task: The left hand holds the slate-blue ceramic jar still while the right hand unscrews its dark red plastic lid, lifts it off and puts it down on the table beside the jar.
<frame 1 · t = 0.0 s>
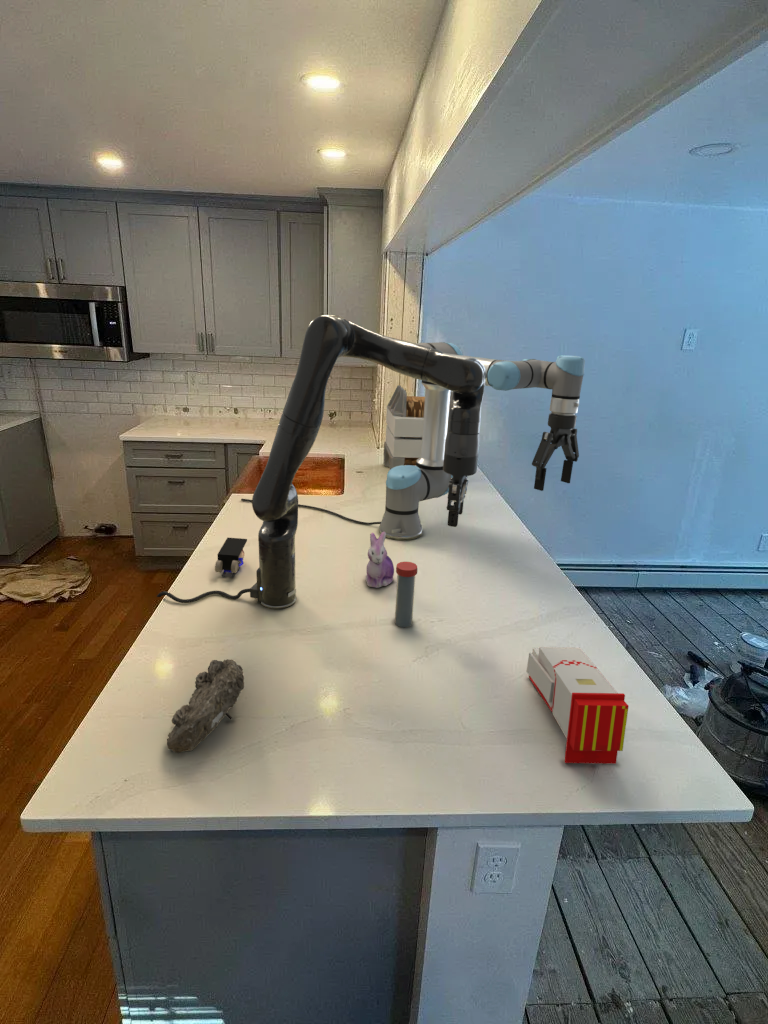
left hand: (455, 519, 131), 29 cm above the counter, tool pointing down, fingers open, 8 cm apart
right hand: (552, 485, 166), 28 cm above the counter, tool pointing down, fingers open, 13 cm apart
figurine character: (232, 569, 168), on the counter
jar: (403, 622, 144), on the counter
figurine: (379, 581, 164), on the counter
feather: (279, 514, 213), on the counter
lid: (406, 567, 138), point 16 cm above the counter, screwed on, not yet turned
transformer: (419, 473, 275), on the counter
fossil: (212, 717, 108), on the counter
toy: (564, 713, 114), on the counter
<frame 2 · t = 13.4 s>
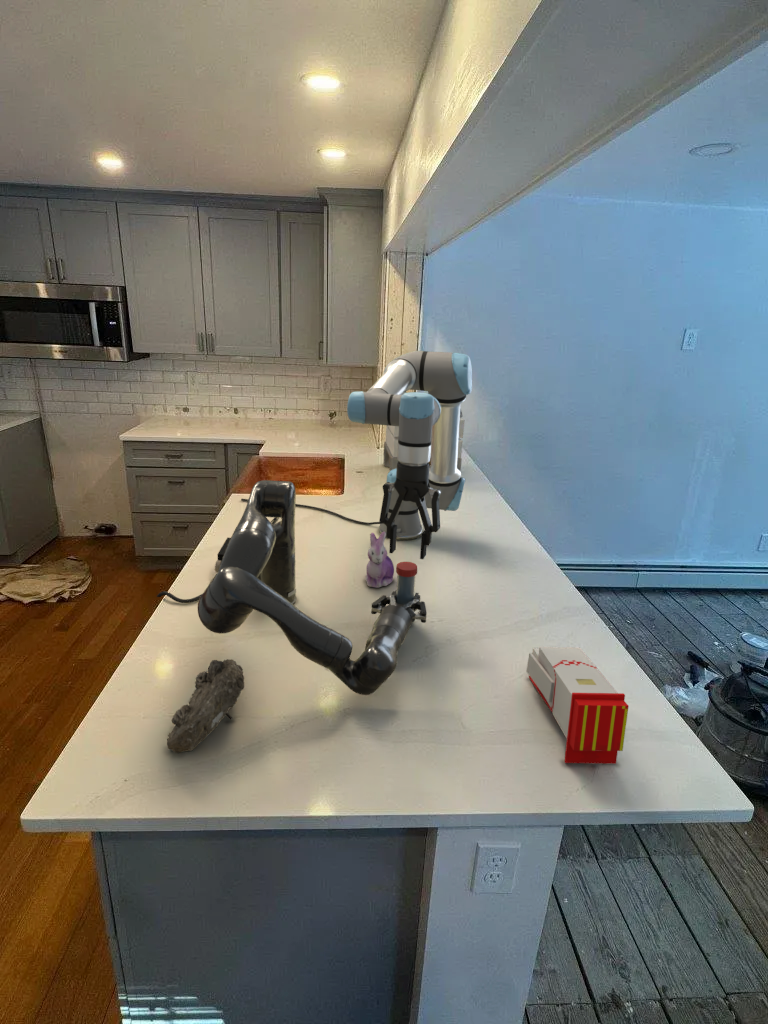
left hand: (407, 594, 144), 7 cm above the counter, tool horizontal, fingers closed on jar, 4 cm apart
right hand: (407, 553, 137), 19 cm above the counter, tool pointing down, fingers open, 7 cm apart
jar: (403, 622, 144), on the counter, touching left hand
everything else where it was.
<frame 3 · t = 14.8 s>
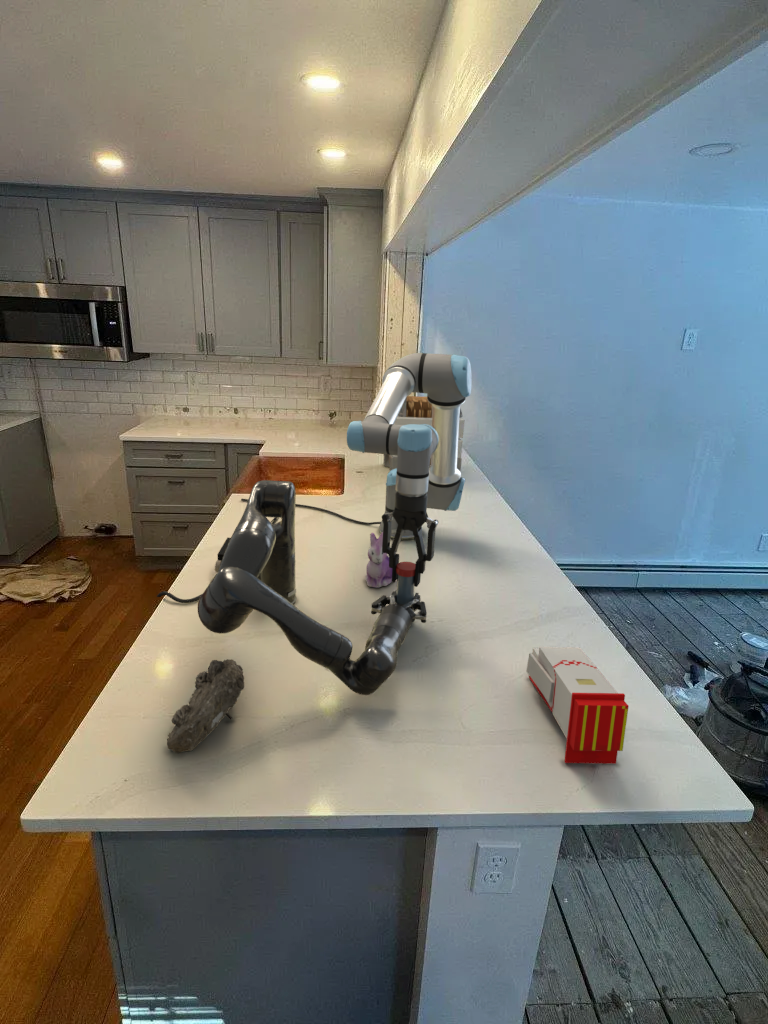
left hand: (407, 594, 144), 7 cm above the counter, tool horizontal, fingers closed on jar, 4 cm apart
right hand: (405, 581, 140), 12 cm above the counter, tool pointing down, fingers closed on lid, 5 cm apart
jar: (403, 622, 144), on the counter, touching left hand
lid: (406, 567, 138), point 16 cm above the counter, screwed on, not yet turned, touching right hand
everything else where it was.
when the right hand's fingers open (0 cm above the counter, at t = 21.1 s): lid drops 3 cm, point 1 cm above the counter.
when the left hand's fingers open (7 cm above the counter, at t = 22.2 s): jar stays where it is, on the counter.
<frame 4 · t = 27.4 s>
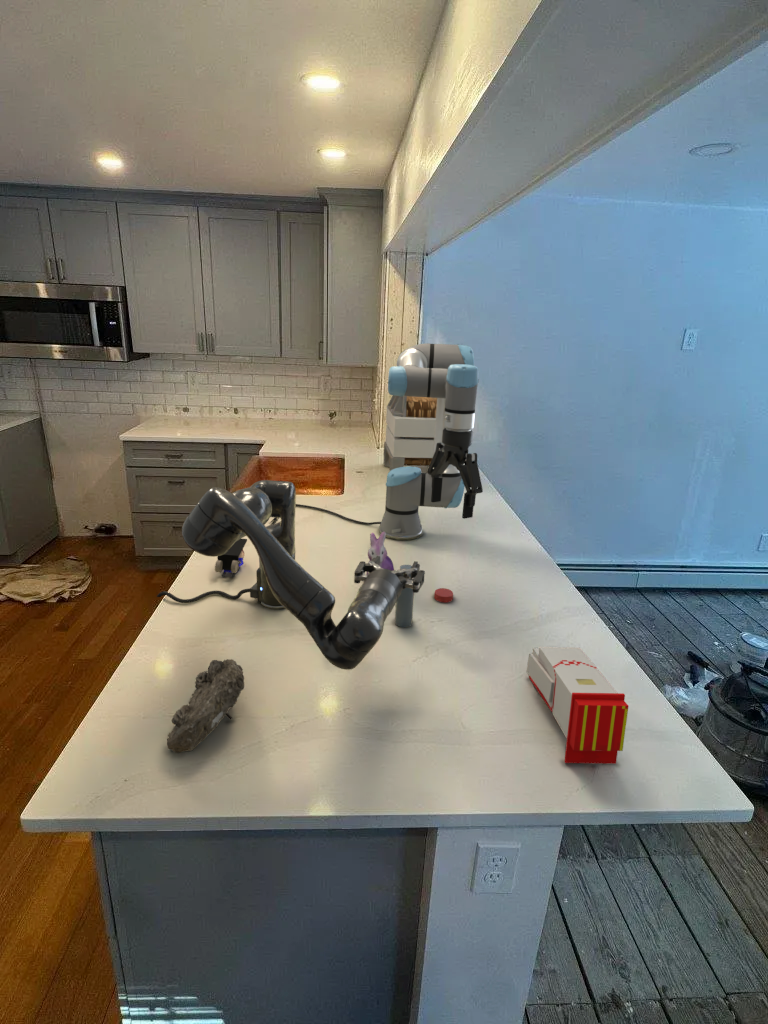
left hand: (397, 562, 126), 22 cm above the counter, tool horizontal, fingers open, 8 cm apart
right hand: (450, 509, 148), 26 cm above the counter, tool pointing down, fingers open, 13 cm apart
jar: (403, 622, 144), on the counter
lid: (443, 593, 156), point 1 cm above the counter, off its thread
everything else where it was.
at the end: lid came off its thread; lid point 1.4 cm above the counter; the left hand is holding nothing; the right hand is holding nothing; jar tilted 0°; jar moved 0.0 cm from its start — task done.
